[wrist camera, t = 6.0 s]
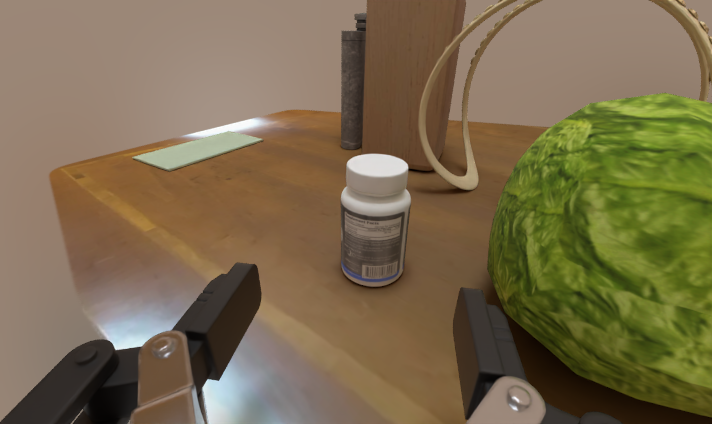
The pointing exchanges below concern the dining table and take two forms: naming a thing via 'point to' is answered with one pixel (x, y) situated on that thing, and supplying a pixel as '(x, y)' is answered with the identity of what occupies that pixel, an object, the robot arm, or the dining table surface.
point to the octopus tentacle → (706, 46)
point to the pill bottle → (374, 219)
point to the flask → (353, 84)
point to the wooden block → (408, 76)
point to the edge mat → (196, 150)
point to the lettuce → (616, 247)
